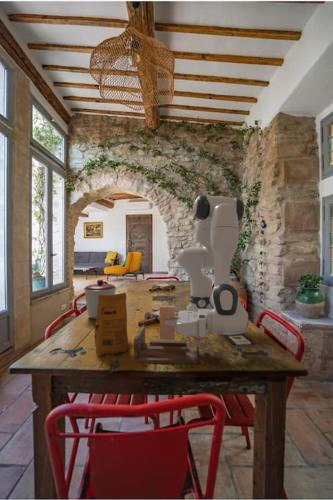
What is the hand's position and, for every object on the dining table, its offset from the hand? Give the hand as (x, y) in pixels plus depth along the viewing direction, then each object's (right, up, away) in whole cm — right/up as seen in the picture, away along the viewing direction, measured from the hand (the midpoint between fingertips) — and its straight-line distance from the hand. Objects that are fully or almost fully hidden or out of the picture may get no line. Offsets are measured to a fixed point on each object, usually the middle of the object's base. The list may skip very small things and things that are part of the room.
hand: (165, 320), depth 103 cm
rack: (+1, -12, 0) cm, 12 cm away
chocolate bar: (+31, -13, +19) cm, 38 cm away
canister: (-37, -12, +53) cm, 66 cm away
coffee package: (-21, -13, +4) cm, 25 cm away
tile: (+1, -7, 0) cm, 7 cm away
